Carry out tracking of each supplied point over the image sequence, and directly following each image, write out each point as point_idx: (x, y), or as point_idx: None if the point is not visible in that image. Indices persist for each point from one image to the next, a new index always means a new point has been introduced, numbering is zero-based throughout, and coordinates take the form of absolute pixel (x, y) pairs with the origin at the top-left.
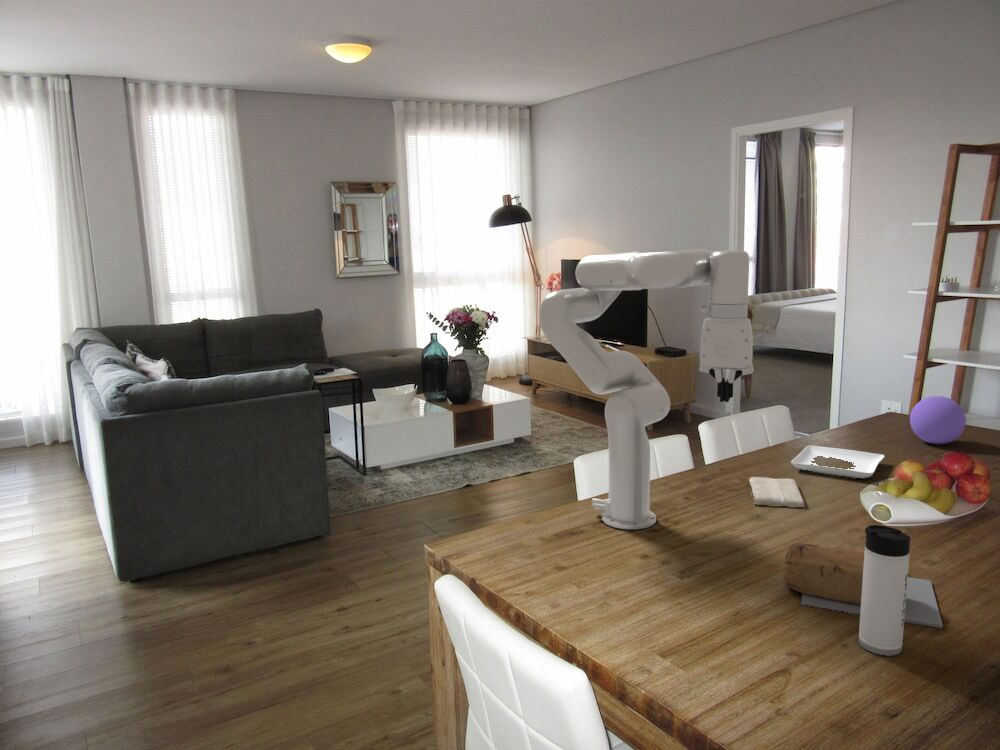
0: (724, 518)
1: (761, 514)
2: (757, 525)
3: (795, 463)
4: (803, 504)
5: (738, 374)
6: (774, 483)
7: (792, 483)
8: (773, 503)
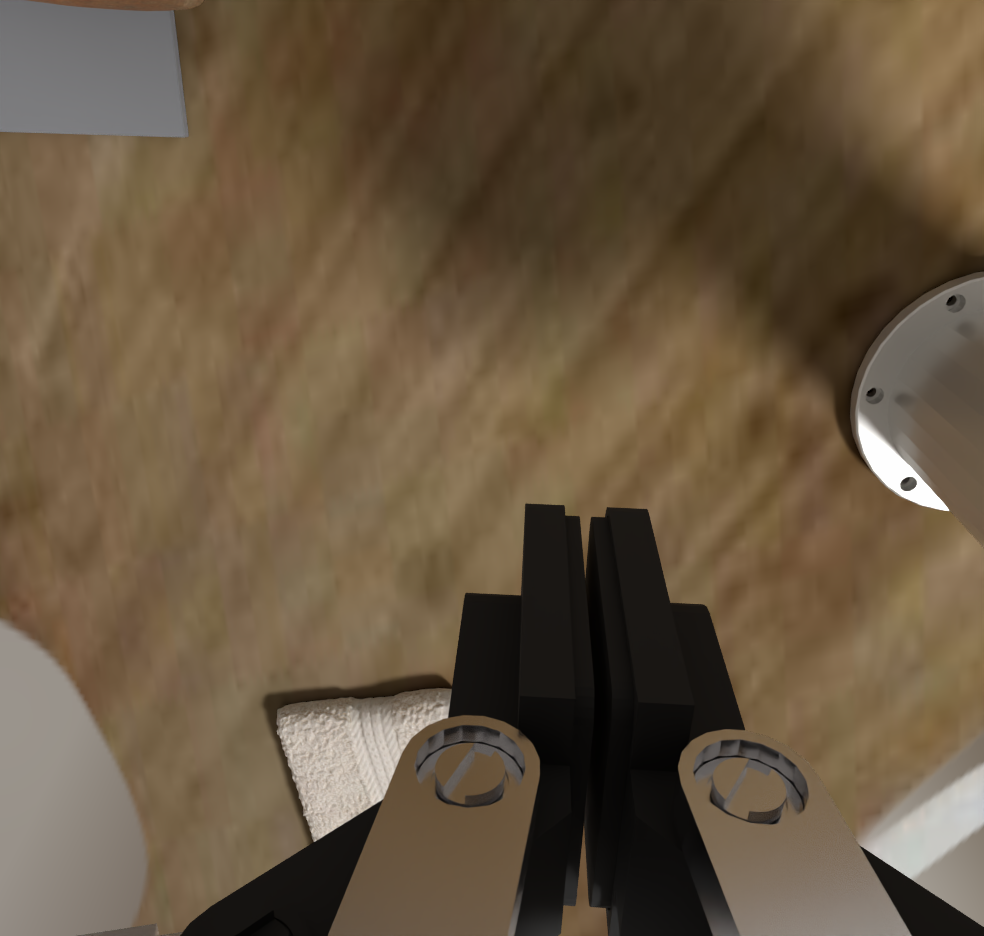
0: None
1: (421, 607)
2: (423, 495)
3: None
4: (278, 713)
5: (265, 909)
6: None
7: None
8: (385, 700)
